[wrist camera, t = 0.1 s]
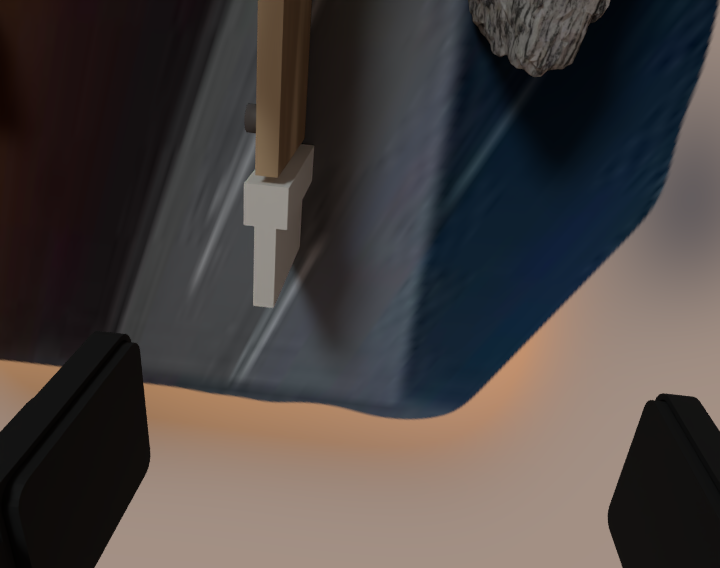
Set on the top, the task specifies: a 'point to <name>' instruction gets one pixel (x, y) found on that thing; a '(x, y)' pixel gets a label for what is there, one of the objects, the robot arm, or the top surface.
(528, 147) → the top surface
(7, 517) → the robot arm
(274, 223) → the door frame
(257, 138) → the door
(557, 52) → the rock
